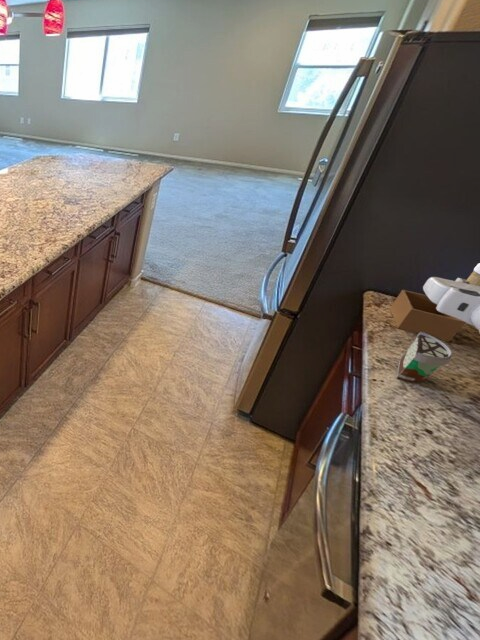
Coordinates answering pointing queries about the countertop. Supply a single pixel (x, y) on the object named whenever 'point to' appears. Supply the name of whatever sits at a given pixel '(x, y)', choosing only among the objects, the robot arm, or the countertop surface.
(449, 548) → the countertop surface
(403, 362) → the food container
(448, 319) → the carton
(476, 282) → the sprinkles bottle
